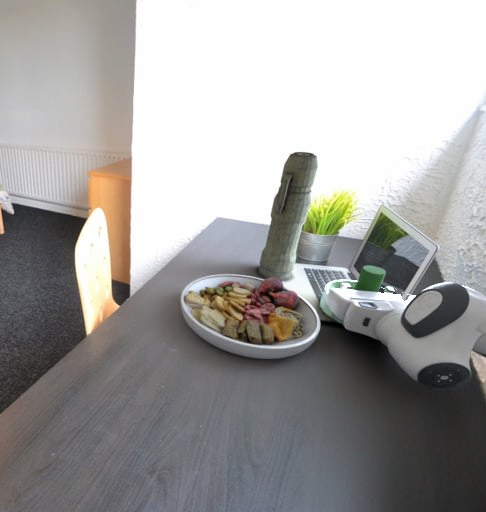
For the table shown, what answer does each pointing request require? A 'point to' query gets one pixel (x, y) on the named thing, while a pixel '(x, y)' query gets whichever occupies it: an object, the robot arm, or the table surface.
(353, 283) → the bowl
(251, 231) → the table surface
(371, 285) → the green cylinder
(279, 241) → the thermos
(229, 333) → the bowl
